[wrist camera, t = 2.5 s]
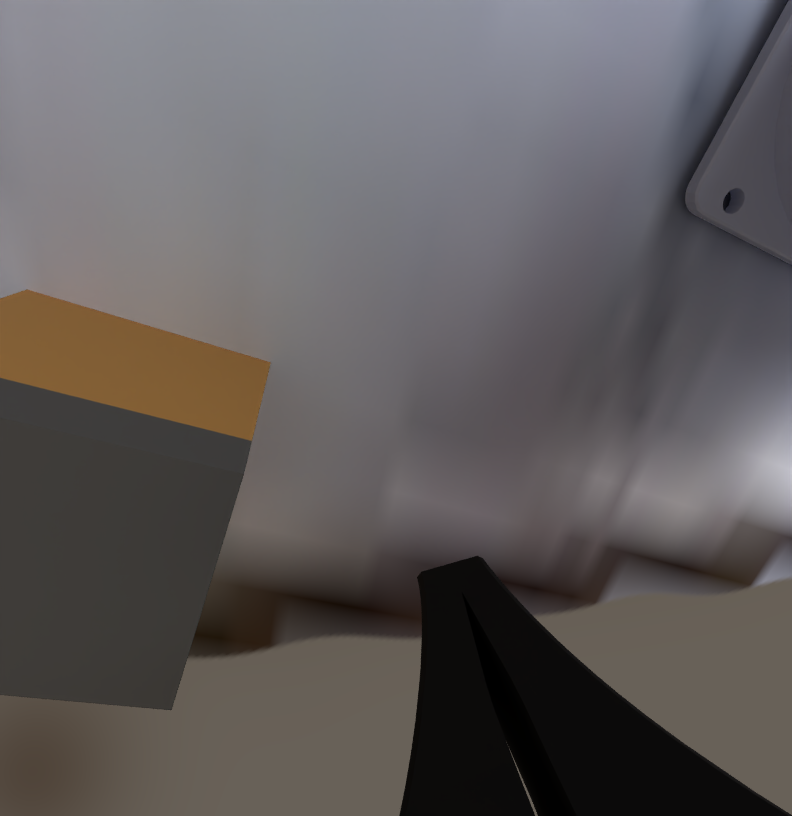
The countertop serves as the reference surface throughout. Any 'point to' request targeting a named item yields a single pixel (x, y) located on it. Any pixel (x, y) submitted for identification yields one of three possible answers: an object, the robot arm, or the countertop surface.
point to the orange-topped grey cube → (111, 497)
